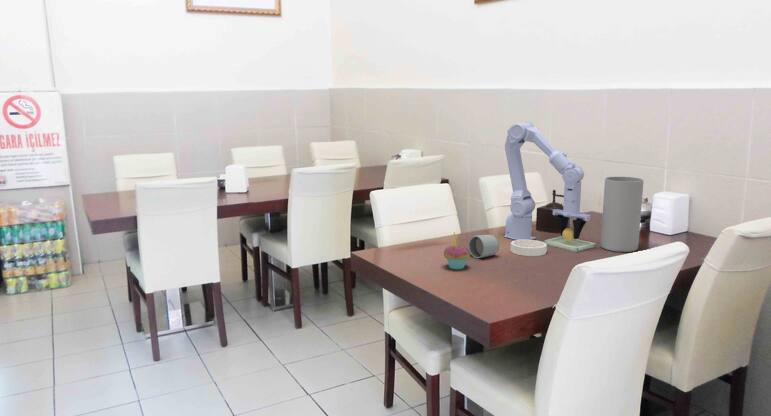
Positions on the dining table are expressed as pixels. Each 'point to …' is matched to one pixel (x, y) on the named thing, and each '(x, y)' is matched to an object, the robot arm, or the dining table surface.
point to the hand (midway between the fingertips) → (569, 237)
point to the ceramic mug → (483, 246)
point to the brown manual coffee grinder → (549, 216)
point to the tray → (569, 244)
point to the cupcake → (456, 255)
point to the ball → (568, 234)
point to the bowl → (528, 247)
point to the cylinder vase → (621, 213)
